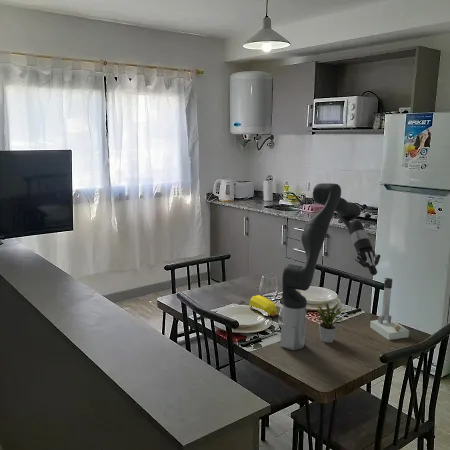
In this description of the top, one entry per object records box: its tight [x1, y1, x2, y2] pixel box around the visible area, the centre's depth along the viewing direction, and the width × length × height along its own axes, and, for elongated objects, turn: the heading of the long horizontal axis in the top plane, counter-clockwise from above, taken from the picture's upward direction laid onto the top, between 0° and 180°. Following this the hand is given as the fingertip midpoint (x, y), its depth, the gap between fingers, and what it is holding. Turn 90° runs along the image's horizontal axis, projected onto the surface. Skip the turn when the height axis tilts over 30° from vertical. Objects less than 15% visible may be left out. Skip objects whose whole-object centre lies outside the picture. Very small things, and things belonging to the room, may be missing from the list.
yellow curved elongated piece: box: [248, 294, 278, 317], centre depth 217 cm, size 18×7×8 cm
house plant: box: [315, 300, 349, 343], centre depth 188 cm, size 14×14×16 cm
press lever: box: [381, 277, 393, 321], centre depth 198 cm, size 3×3×19 cm
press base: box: [369, 314, 410, 341], centre depth 197 cm, size 13×10×6 cm
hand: (374, 274), depth 206 cm, fingers closed
